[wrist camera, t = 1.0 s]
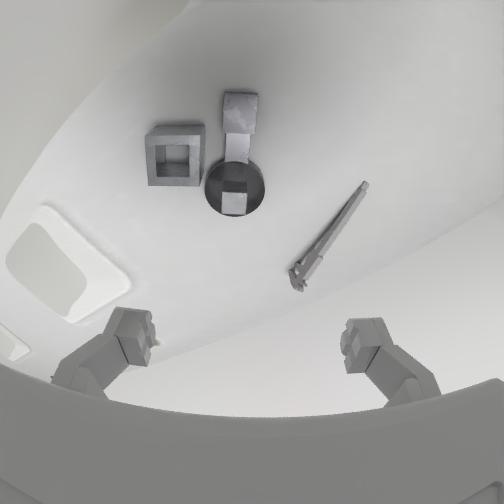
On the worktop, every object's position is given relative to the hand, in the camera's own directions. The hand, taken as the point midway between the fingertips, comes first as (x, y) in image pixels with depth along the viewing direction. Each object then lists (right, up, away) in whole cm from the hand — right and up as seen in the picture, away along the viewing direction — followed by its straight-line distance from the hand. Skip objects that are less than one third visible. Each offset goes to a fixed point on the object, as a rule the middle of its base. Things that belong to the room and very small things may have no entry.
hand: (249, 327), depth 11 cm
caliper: (+12, +7, +34) cm, 37 cm away
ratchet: (-2, +16, +26) cm, 30 cm away
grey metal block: (-9, +17, +25) cm, 32 cm away
